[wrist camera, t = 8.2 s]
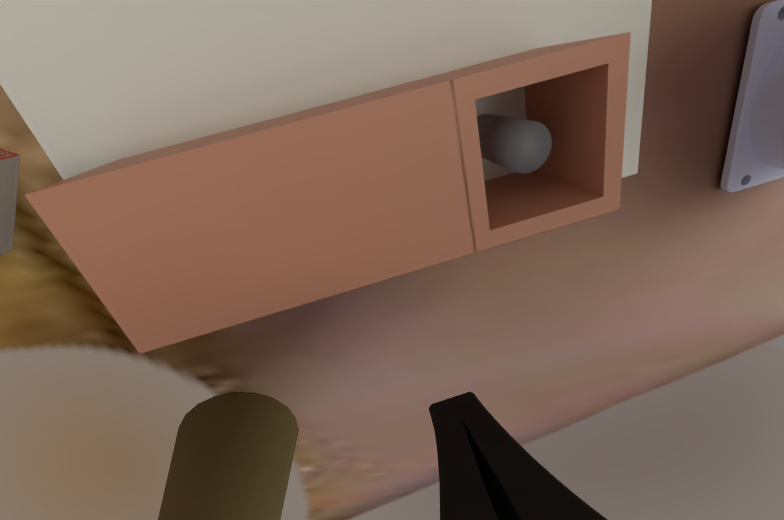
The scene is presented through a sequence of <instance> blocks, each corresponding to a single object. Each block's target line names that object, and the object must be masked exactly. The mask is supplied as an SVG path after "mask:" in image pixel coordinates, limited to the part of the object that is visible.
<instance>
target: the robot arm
mask: <svg viewBox="0 0 784 520" xmlns="http://www.w3.org/2000/svg"><path fill="white" fill-rule="evenodd" d="M783 177H784V0H775V1H772V2H768V3H765V4H763V5H761V6H760V7H759V8H758V9H757V11H756V12H755V14H754V16H753V19H752V24H751V29H750V34H749V39H748V44H747V50H746V55H745V60H744V65H743V70H742V75H741V81H740V86H739V91H738V96H737V101H736V106H735V112H734V117H733V122H732V127H731V132H730V138H729V143H728V148H727V153H726V158H725V163H724V169H723V174H722V179H721V189H722V190H723V191H726V192H730V193H732V192H736V191H740V190H743V189H746V188H750V187H753V186H756V185H760V184H763V183H766V182H769V181H773V180H776V179H779V178H783ZM429 411H430V415H431V419H432V422H433V426H434V430H435V436H436V444H437V452H438V465H439V480H440V520H607V519H606V518H604V517H603V516H602V515H601V514H599V513H598V512H597V511H595V510H594V509H593V508H591V507H590V506H589V505H587V504H586V503H585V502H584V501H583V500H581V499H580V498H579V497H578V496H576V495H575V494H574V493H573V492H571V491H570V490H569V489H568V488H567V487H565V486H564V485H563V484H562V483H561V482H559V481H558V480H557V479H556V478H555V477H554V476H553V475H551V474H550V473H549V472H548V471H547V470H546V469H545V468H544V467H543V466H541V465H540V464H539V463H538V462H537V461H536V460H535V459H534V458H533V457H532V456H531V455H529V453H528V452H526V450H524V449H523V448H522V447H521V446H520V445H519V444H518V443H517V442H516V441H515V440H514V439H513V438H512V437H511V436H510V435H509V434H508V433H507V432H506V430H505V429H504V428H503V427H502V426H501V425H500V424H499V423H498V422H497V421H496V420H495V419H494V418H493V416H492V415H491V414H490V413H489V412H488V411H487V410H486V408H485V407H484V406H483V405H482V403H481V402H480V401H479V400H478V398H477V397H476V396H475V394H474V393H472V392H467V393H464V394H461V395H458V396H455V397H452V398H449V399H446V400H443V401H440V402H437V403H434V404H432V405H431V406H430V407H429Z"/></svg>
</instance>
